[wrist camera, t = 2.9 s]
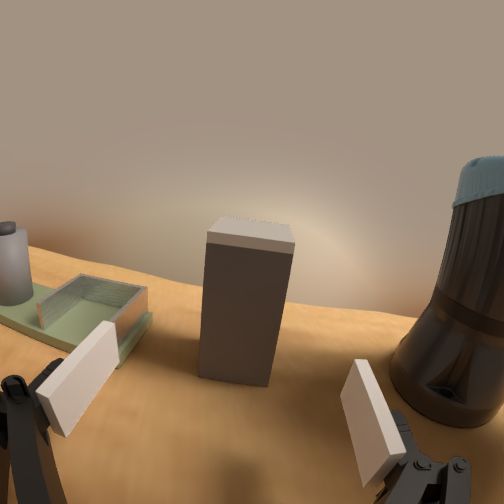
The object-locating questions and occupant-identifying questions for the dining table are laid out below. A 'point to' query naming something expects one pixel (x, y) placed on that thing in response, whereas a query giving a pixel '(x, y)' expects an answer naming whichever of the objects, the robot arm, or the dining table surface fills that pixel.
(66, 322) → the desk organizer stand
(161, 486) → the dining table surface
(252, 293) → the grey block
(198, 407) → the dining table surface
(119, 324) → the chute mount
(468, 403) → the robot arm
